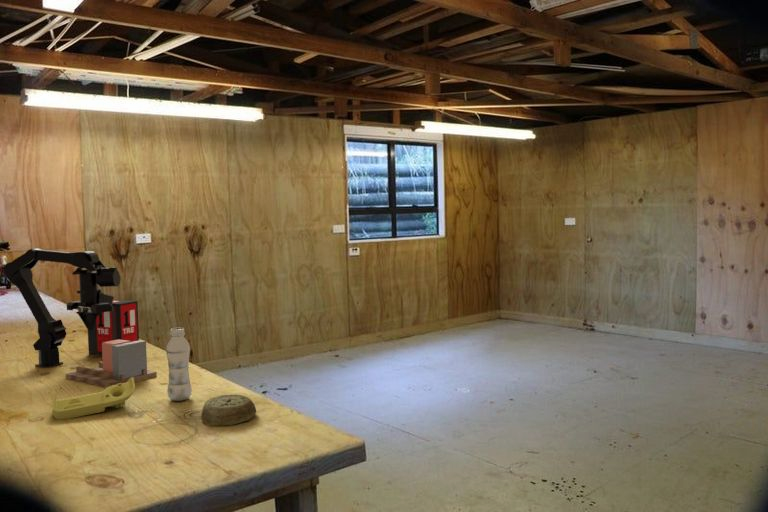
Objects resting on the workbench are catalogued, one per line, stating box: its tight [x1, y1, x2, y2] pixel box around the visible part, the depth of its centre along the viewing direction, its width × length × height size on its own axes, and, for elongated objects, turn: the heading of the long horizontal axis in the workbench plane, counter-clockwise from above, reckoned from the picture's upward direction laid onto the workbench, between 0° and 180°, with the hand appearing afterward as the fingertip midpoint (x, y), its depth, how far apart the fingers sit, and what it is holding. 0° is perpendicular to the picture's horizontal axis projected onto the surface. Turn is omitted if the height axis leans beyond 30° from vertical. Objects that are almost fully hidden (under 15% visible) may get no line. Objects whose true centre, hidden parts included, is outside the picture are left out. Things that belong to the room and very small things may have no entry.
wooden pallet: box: [65, 361, 158, 388], centre depth 195 cm, size 24×16×3 cm, turn 58°
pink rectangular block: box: [101, 339, 130, 373], centre depth 193 cm, size 6×6×10 cm
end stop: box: [112, 339, 148, 381], centre depth 190 cm, size 3×10×10 cm, turn 148°
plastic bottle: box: [165, 327, 193, 402], centre depth 168 cm, size 6×7×20 cm
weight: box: [200, 394, 257, 427], centre depth 152 cm, size 14×13×5 cm
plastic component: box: [51, 377, 136, 420], centre depth 161 cm, size 20×7×10 cm
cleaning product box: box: [87, 299, 140, 356], centre depth 232 cm, size 16×9×20 cm, turn 68°
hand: (90, 331), depth 213 cm, fingers closed
